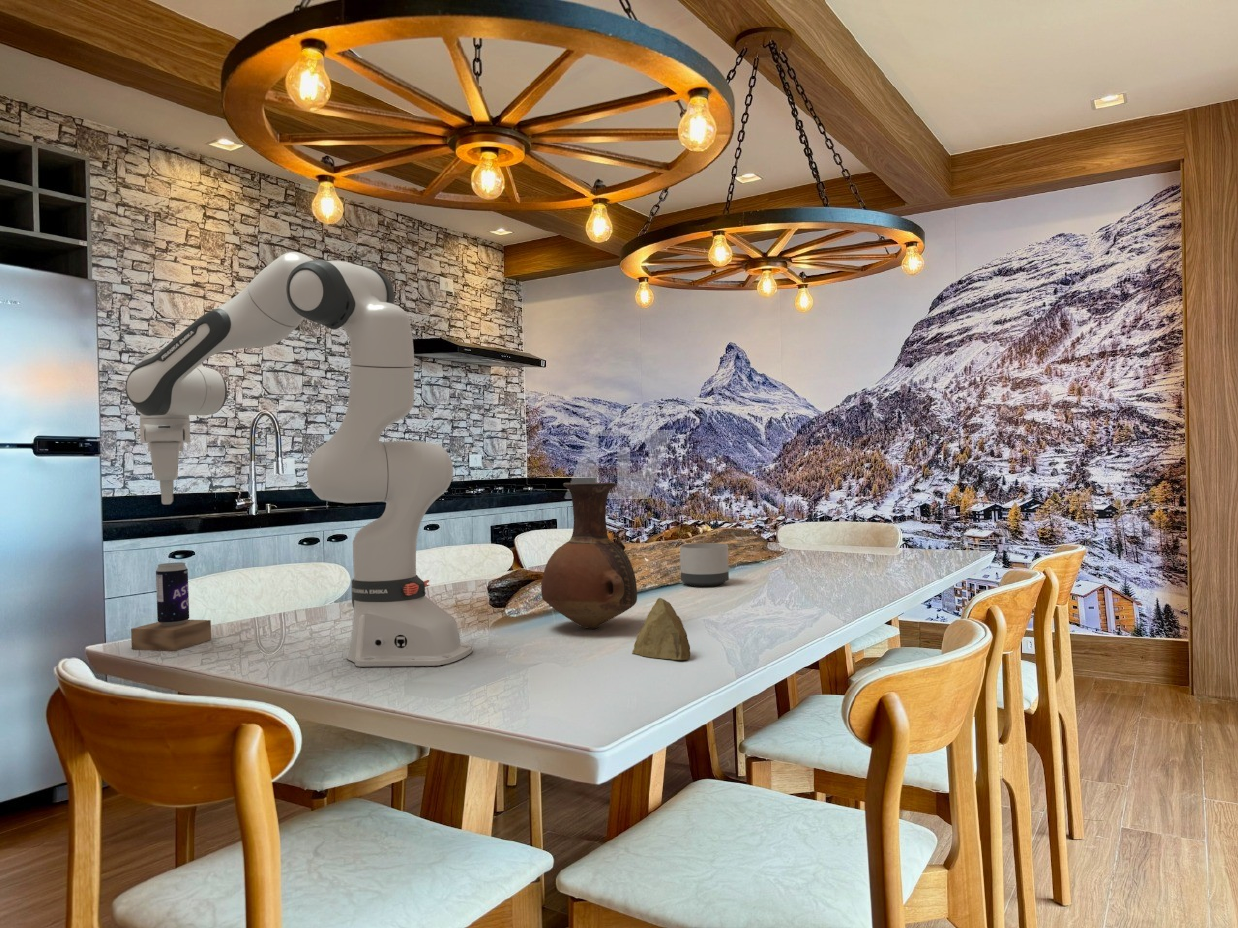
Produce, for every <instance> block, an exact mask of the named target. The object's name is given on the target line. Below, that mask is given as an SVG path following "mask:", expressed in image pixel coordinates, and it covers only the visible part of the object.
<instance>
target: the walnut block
mask: <svg viewBox="0 0 1238 928" xmlns="http://www.w3.org/2000/svg"><path fill="white" fill-rule="evenodd" d="M130 635H131V641H130V642H131V650H141V651H143V650H144V651H169V652H171V651H173V652H175V651H179V650H182V649H185V648H188V647H189V648H190V647H192V646H195V645H198V644H202V643H204V642H205V643H206V642H208V641H211V640H212V621H211V620H210V619H188V620H187V621H186V622H185V623H184V624H180V625H174V626H163V625H162V624H161V623H159V622H158V621H157V622H154V623H153V622H152V623H148V624H145V625H141V626H137V627H133V628H130Z"/></svg>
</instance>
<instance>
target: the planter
mask: <svg viewBox="0 0 1238 928" xmlns="http://www.w3.org/2000/svg"><path fill="white" fill-rule="evenodd" d="M679 558H680V559H679V560H680V561H679V563H680V581H681V582H683V583H685V584H687V585H689V586H692V587H696V588H697V587H700V588H701V587H702V588H706V587H707V588H708V587H709V588H710V587H711V588H712V587H717V586H720V585H722V584H724V583H726V582H728V581H729V579H730V577H729V572H730V571H729V545H728V544H726V543H718V542H698V543H695V542H694V543H685V544H681V545H680V546H679Z"/></svg>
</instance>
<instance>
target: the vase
mask: <svg viewBox="0 0 1238 928" xmlns="http://www.w3.org/2000/svg"><path fill="white" fill-rule="evenodd" d="M562 485H563V487H564V488H566V489H568V490H569V493H570V495H571V501H572V514H573V515H572V516H573V527H572V534H571V537H570V539H569V540H568V541H567V542H565V543H564V544H562V545H561V546H559V547H558V548H557V549H555V551H554V552H553V554H552V555H551V556H550V557H549V559H548V560H547V562H546V565H545V568H544V571H543V574H542V580H541V585H540V586H541V588H540V592H541V598H542V600H543V602H545V603H546V604H547V605H548V606H549V607H551V608H552V609H554V611H555V610H556V612H558V613H559V614H561V615H562V616H564V617H565V618H567V619H568V620H570V621H572V622H573V623H574V624H577V625H578V626H579V627H581V628H584V629H589V630H590V629H591V630H592V629H597V628H599V627H601V626H602V625H604V624H605V623H607V622H608V621H611V620H613V619H614V618H616V617H618V616H620V615H622V614H623V613H625V612H626V611H628V610H630V609H631V608H632V607H634V606H635V605H636V604H637V601H638V588H637V579H636V575H635V571H634V569H633V565H632V562H631V560H630V557H629V556H628V555H627V553H626V551H625V549H626V546H625V545H624V543H623V542H622V540H620V539H618V538H617V539H615V541H612V540H611V538H609V536H608V532H607V520H606V519H607V517H606V509H607V502H608V501H607V500H608V496H609V492H610V491H611V490H612V489H613V488H615V487H616V486H617V484H616V483H615V482H590V483H589V482H587V483H586V482H564V483H563V484H562Z"/></svg>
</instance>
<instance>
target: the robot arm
mask: <svg viewBox="0 0 1238 928" xmlns="http://www.w3.org/2000/svg"><path fill="white" fill-rule="evenodd" d="M305 319H307V320H308V321H311V322H313V323H316V324H319V325H322V326H324V327H326V328H328V329H331V330H334V331H336V330H338V329H339V328H340V329H342V330H343V331H345V332H346V335H347V336H348V338H349V345H350V347H349V348H350V356H349V357H350V358H349V360H350V361H349V362H350V363H349V366H350V367H349V372H350V373H349V378H350V379H349V395H348V404H347V405H348V406H347V408H346V409H347V410H346V413H345V416H344V418H343V420H342V422H341V424H340V426H339V427H338V429H337V430H336V431H335V433H334V434H333V435H332V436H331V437H330V438H329V439H328V440H327V441H326V442H325V443H323V444H322V445H320V446H319V447H318V448H317V449H316V450H315V451H314V452H313V454H311V457H310V458H309V462H308V463H307V469H306V477H307V482H308V484H309V487H310V489H311V491H312V492H313V493H314V494H315V495H316V497H318V498H319V500H321V501H327V502H333V503H343V504H356V503H357V504H358V503H360V504H361V503H376V502H383V503H386V504H385V509H384V511H383V513H382V515H381V516H380V517H378V518H377V519H375V520H372V521H371V522H369V523H367V524H366V525H365V526H363V527H361V528H360V529H359V530H358V531H357V533H356V534H355V535H354V537H353V540H352V555H353V556H352V560H353V562H352V563H353V578H352V579H351V602H352V607H353V617H352V618H353V619H352V627H351V635H350V636H351V637H350V641H349V647H348V650H347V654H346V659H347V660H348V661H351V662H353V663H354V665H355V666H356V667H424V666H425V667H430V666H433V667H435V666H441V665H443V666H444V665H447V664H451V663H453V662H457V661H460V660H461V659H463V658H465V657H467V656H469V655H470V654H471V653H472V652H473V649H474V648H473V644H472V643H468V642H461V637H460V636H461V635H460V629H459V627H458V626H459V625H458V623H457V620H456V619H455V618H454V616H452V614H450V613H448V612H447V611H446V610H445V609H444V608H442V607H441V606H439V605H438V604H437V603H435V602H434V601H433V600H431V599H430V598H429V597H428V596H426V595H427V593H426V588H427V587H429V586H431V585H430V584H429V582H430V580H429V579H427V580H423V579H422V578H420V576H419V575H417V568H416V567H417V543H418V542H417V540H418V533H419V529H420V526H421V523H422V520H423V519H424V516H425V514H426V512H427V511H428V510H429V508H430V507H431V506H432V504H434V502H435V501H436V500H438V499H439V498H440V497H441V496H442V495H443V494H444V493H446V492H447V490H448V488H449V487H450V485H451V482H452V480H453V477H454V465H453V461H452V458H451V456H450V454H449V453H448V451H447V450H446V449H445V448H444V447H443V446H442V445H439V444H435V443H430V442H426V441H425V442H424V441H418V440H410V441H409V440H407V441H406V440H405V441H404V440H403V441H401V440H400V441H395V440H394V441H381V440H380V437H381V436H382V433H383V432H384V430H385V429H386V428H387V427H388V426H390V425H393V424H394V423H396V422H398V421H401V420H402V419H404V418H406V416H408V414H409V413H410V412H411V410H413V407H414V404H415V352H414V351H415V349H414V339H413V332H412V326H411V322H410V318H409V315H408V313H407V312H406V311H405V310H404V309H403V308H402V307H400V306H399V305H397V304H395V291H394V287H393V284H392V282H391V280H390V279H389V278H388V276H386V275H385V274H384V273H383V272H381V271H380V270H378V269H376V268H374V267H371V266H368V265H367V266H366V265H358V264H355V263H352V262H349V261H344V260H325V259H315V260H314V259H313V258H311V257H310V256H308V255H307V254H304V253H302V252H298V251H288V252H285V253H283V254H282V255H279V256H278V257H277V258H275V259H274V260H273V261H271V262H270V263H269V264H268V265H267V266H266V267H264V268H263V269H262V270H261V271H259V273H258V274H257V275H255V276H254V278H252V280H251V281H250V282H249V283H248V284H247V285H246V286H244V288H243V289H242V290H241V291H240V292H239V293H237V294H235V296H234V297H232V298H230V299H229V300H228V301H226V302H225V303H223V304H222V305H220V306H217V308H214V309H212V310H210V311H208V312H206V313H204V314H203V315H201V316H200V317H199V318H197V319H196V320H195V321H194V322H193V323H191V324H189V326H187V327H186V328H185V329H184V330H183V331H182V332H180V333H179V335H177V336H176V337H175V338H173V340H171V341H170V342H169V343H168V344H166V346H164V347H163V348H162V349H160V351H155V352H154V351H153V352H151V353H147V354H146V355H144V356H143V357H142V359H141V361H140V362H138V363H137V365H135V366H134V367H133V368H132V370H130V372H129V374H128V376H127V377H126V380H125V386H124V387H125V389H124V390H125V394H126V397H127V398H128V399H127V400H129V402H130V404H131V405H132V406H133V407H134V409H136V410H137V411H138V412H139V413H140V415H139V433H140V435H139V437H140V438H139V439H140V441H139V442H140V443H141V444H147V451H148V452H150V453H149V454H150V460H151V466H152V467H151V468H152V472H153V473H152V474H153V477H154V480H155V481H158V482H159V488H160V494H161V496H160V497H161V504H162V505H171V504H173V502H174V487H175V486H174V484H175V483H174V481H176V480H177V479H178V477H179V473H178V467H179V456H180V452H181V451H182V452H183V451H184V450H185V449H184V443H190V442H191V424H190V423H191V422H190V416H210V415H214V414H216V413H218V412H220V411H221V410H222V408H223V407H224V405H225V403H226V401H227V397H228V386H227V382H226V379H225V378H224V377H223V375H222V373H221V372H219V371H218V370H217V369H213V368H210V367H207V366H204V365H202V364H203V363H204V362H205V361H206V360H208V359H209V358H210V357H212V356H214V355H217V354H219V353H222V352H223V353H224V352H227V351H233V350H239V349H240V350H241V349H251V348H252V349H254V348H266V347H270V346H274V345H276V344H278V343H280V342H281V341H283V340H284V339H286V338H287V337H288V336H290V335H291V334H292V333H293V332H294V331H295V330H296V329H297V327H298V326H299V325H300V324H301V323H302V322H303V321H304V320H305Z"/></svg>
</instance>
